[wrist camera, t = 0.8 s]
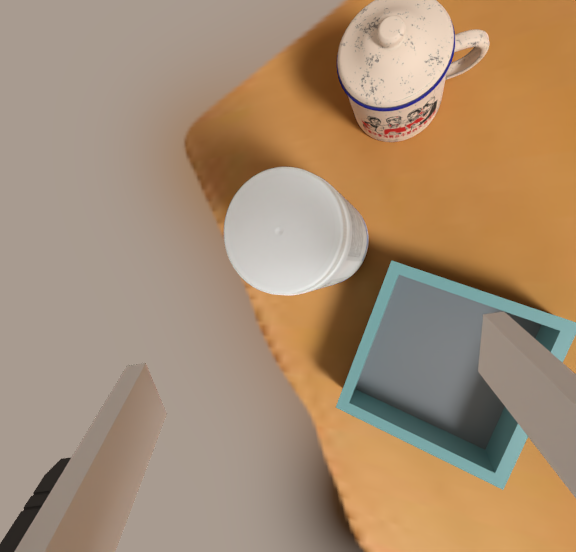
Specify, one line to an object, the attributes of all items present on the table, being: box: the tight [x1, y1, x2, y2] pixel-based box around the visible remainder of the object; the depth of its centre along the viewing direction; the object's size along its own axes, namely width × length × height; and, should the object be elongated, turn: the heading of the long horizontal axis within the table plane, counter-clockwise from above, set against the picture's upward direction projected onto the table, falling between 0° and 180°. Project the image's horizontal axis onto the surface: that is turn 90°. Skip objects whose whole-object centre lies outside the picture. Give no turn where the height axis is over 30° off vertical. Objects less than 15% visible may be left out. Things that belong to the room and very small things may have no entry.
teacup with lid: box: [337, 0, 489, 142], centre depth 30 cm, size 12×9×12 cm
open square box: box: [336, 260, 576, 489], centre depth 33 cm, size 15×15×5 cm
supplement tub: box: [224, 167, 369, 295], centre depth 32 cm, size 10×10×15 cm
